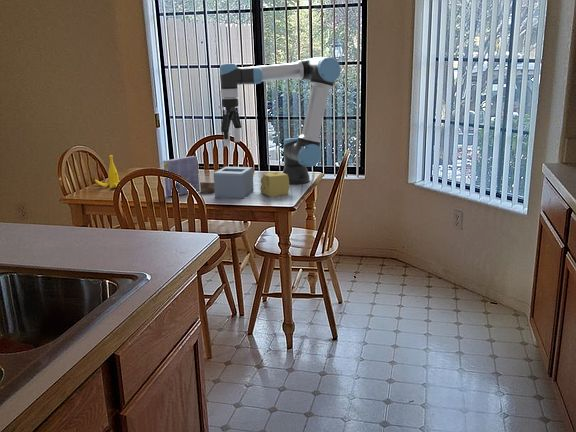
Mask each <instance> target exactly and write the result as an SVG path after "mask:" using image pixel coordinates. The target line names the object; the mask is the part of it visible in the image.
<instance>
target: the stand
mask: <svg viewBox="0 0 576 432" xmlns="http://www.w3.org/2000/svg"><path fill="white" fill-rule="evenodd" d="M199 189H200V193H211V194H212V193H213V194H215V188H214V180H211V181H208V180H201V181H199Z"/></svg>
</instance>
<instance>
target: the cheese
mask: <svg viewBox="0 0 576 432" xmlns="http://www.w3.org/2000/svg"><path fill="white" fill-rule="evenodd" d="M260 183H261V185H260V193H261V194H263V195H266V196H267V197H270V198H273V197H278V196H283V195H289V192H290V184H289V177H288V174H285V173H283V172H281V171H269V172H267V173H265V174H263V175H262V176H261V178H260Z"/></svg>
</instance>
